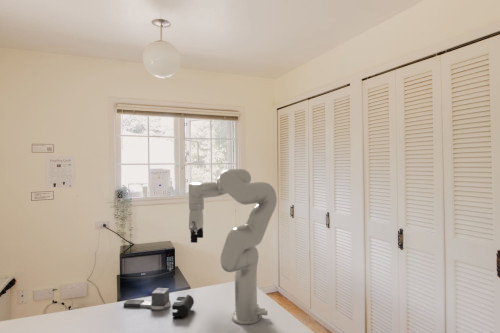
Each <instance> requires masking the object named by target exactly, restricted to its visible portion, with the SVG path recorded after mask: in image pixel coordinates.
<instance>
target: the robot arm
mask: <svg viewBox="0 0 500 333" xmlns="http://www.w3.org/2000/svg"><path fill="white" fill-rule="evenodd" d="M251 175H252V174H250V172H249V171H247V169H242V168H235V169H234V168H232V169H230V168H229V169H225V170H223V171H222V172H221V173H220V174H219V176H218V177H217V179H216V181H211V182H210V181H209V182H191V183H189V184H188V210H189V215H188V217H189V218H188V230H190V231H189V232H190V243H194V244H195V243H196V244H197V243H198V239H202V238H204V211H203V210H204V209H205V206H204V205H205V201H204V200H205V198H206V199H207V198H214V197H215V198H216V197H220V196H224V195H227V194H228V195H229V196H230V197H231V198H232V199H234V200H235V201H236V202H237V203H238V204H240V205H254V204H256V205H255V206H254V207H253V209H252V210H251V212H250V213H249V216H248V219H247V220H246V223H245V224H243V225H238V226H236V227H234V228H232V229H231V230H230V231H228V233H227V237H226V238H225V241H224V244H223V248H222V251H221V254H220V259H219V260H220V265H221V268H222V269H223V271H224V272H227V273H234V272H235V273H234V303H235V304H234V306H235V308H234V309H235V310H234V311H233V312H232V314H231V319H232V321H233V322H235V323H236V324H239V325H253V324H255V323H258V322H259V321H260V320H261V318H262V316H268V309H267V310H266V308H265V307H263V308H261V307H259V304H258V287H257V284H258V283H257V279H258V278H257V276H258V275H257V274H258V272H257V270H258V263H259V251H258V248H257V246H259V245H260V244H261V242H263V241H262V240H263V238H264V236H265V233H266V231H267V228H268V226H269V223H270V220H271V218H272V216H273V213H274V212H275V209H276V206H277V200H278V199H277V192H276V190H275V188H274V186H272V185H271V183H269V182H263V181H255V182H251V181H252V176H251Z"/></svg>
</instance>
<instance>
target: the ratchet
mask: <svg viewBox="0 0 500 333" xmlns="http://www.w3.org/2000/svg"><path fill="white" fill-rule="evenodd" d="M171 307H172V305H171V300H170V299H169V302H168V303H167V304H166V305H165V306H152V300H151V301H150V300H149V301H148V300H146V301H145V299H127V300H126V301H125V302H124V303H123V308H135V309H138V308H139V309H140V308H141V309H142V308H143V309H150V310H151V311H153V312H162V311H166V310H168V309H170V308H171Z"/></svg>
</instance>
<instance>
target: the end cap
mask: <svg viewBox="0 0 500 333" xmlns="http://www.w3.org/2000/svg"><path fill="white" fill-rule="evenodd" d="M176 301H177V302H175V301H174V302H173V304H172V305H171V310H173V311H172V312H171V315H172V320H184V319H185V318H186V317H187V316H188V314H189V312H191V309H192V307H193V306H194V304H195V300H194V298H193V296H192V295H190V294H187V295H186V296H178V297H177V298H176ZM175 310H176V311H175Z"/></svg>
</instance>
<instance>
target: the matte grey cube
mask: <svg viewBox="0 0 500 333" xmlns="http://www.w3.org/2000/svg"><path fill="white" fill-rule="evenodd" d="M169 300H170V288H169V287H157V288H155V289H154V290H153V291H152V292H151V301H152V306H165V305H166V304H167V303H168V302H169Z"/></svg>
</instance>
